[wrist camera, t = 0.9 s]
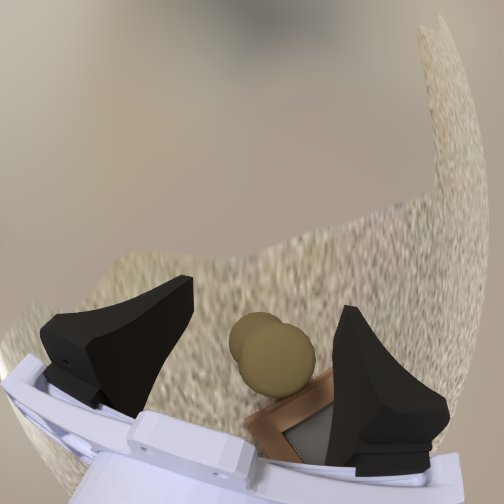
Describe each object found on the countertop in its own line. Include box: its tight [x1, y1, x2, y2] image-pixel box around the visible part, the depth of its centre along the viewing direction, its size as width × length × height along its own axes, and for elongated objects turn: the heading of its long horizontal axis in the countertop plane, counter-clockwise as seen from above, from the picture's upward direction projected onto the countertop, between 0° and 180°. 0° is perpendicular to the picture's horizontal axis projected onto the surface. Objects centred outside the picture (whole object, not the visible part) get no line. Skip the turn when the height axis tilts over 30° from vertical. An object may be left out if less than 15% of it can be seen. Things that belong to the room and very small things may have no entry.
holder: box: [244, 367, 334, 466], centre depth 25 cm, size 15×15×2 cm
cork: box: [229, 312, 316, 398], centre depth 22 cm, size 6×6×11 cm
